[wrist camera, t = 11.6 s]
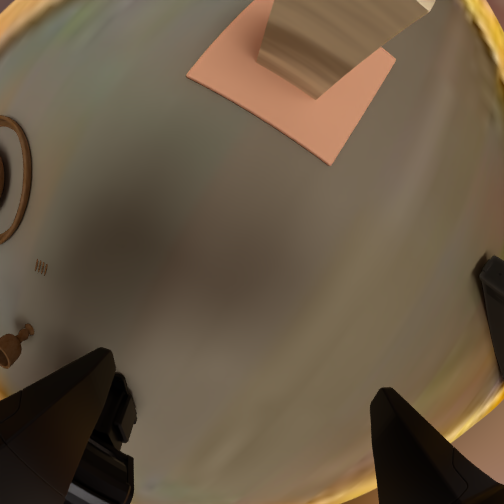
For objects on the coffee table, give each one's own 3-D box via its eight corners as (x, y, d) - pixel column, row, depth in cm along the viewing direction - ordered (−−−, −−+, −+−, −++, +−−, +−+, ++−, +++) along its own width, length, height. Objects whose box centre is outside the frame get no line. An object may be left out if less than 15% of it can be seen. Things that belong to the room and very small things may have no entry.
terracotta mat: (328, 165, 19) (330, 165, 19) (186, 77, 17) (185, 75, 16) (393, 61, 17) (396, 59, 17) (274, -17, 15) (275, -19, 14)
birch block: (315, 100, 17) (429, 11, 5) (256, 62, 16) (298, -71, 4) (346, 57, 17) (450, -29, 4) (291, 22, 16) (352, -94, 3)
